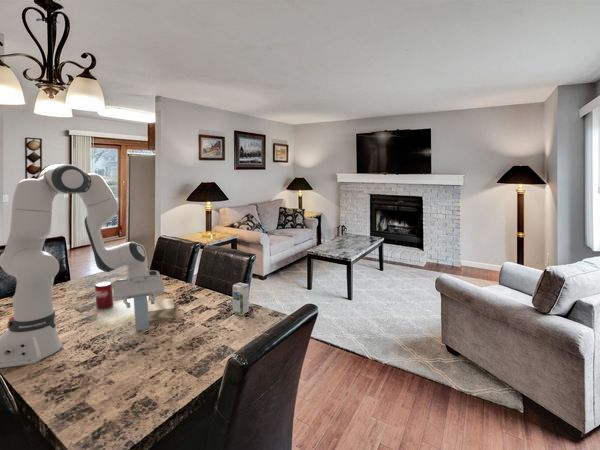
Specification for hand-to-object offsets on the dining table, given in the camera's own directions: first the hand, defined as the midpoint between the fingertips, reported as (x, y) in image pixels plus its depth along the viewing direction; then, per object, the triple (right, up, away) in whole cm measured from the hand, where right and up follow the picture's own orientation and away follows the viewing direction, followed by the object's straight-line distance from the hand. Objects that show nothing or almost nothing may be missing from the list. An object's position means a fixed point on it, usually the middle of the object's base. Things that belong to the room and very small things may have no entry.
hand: (140, 305), depth 139 cm
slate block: (0, -10, +1) cm, 10 cm away
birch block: (+1, -8, +15) cm, 17 cm away
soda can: (-29, -6, +22) cm, 36 cm away
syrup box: (+40, -8, +17) cm, 44 cm away
